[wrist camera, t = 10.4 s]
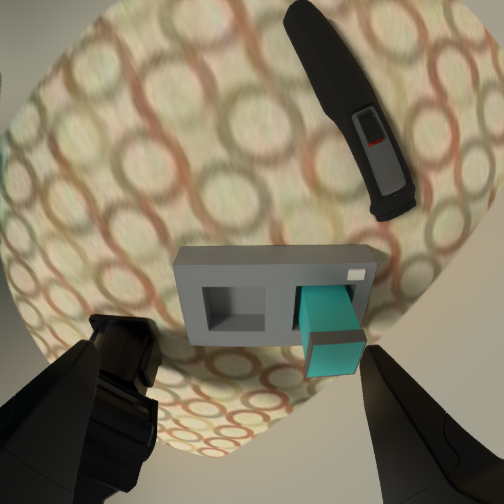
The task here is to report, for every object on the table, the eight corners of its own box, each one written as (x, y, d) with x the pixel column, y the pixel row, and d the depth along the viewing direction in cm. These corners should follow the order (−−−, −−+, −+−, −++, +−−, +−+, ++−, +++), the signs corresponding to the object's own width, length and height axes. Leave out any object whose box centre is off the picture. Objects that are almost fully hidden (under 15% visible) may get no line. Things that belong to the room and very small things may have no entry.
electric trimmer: (318, 3, 13) (329, -12, 10) (412, 198, 20) (432, 215, 17) (266, 24, 14) (268, 11, 11) (370, 220, 21) (386, 240, 18)
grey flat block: (194, 324, 26) (189, 347, 23) (180, 246, 22) (171, 266, 19) (349, 321, 26) (356, 343, 23) (367, 244, 21) (378, 263, 19)
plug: (295, 308, 24) (305, 378, 18) (298, 274, 22) (312, 344, 16) (335, 307, 24) (354, 374, 18) (341, 274, 22) (367, 340, 16)
